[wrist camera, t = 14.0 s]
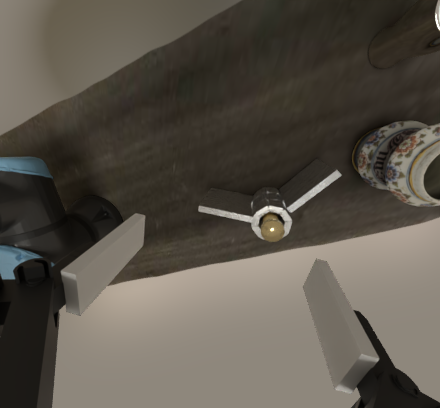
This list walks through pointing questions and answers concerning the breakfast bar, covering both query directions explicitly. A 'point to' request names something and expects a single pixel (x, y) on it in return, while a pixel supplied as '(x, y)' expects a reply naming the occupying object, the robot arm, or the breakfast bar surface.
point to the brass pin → (272, 227)
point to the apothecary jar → (402, 161)
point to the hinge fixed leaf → (245, 207)
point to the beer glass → (408, 36)
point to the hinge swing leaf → (302, 186)
